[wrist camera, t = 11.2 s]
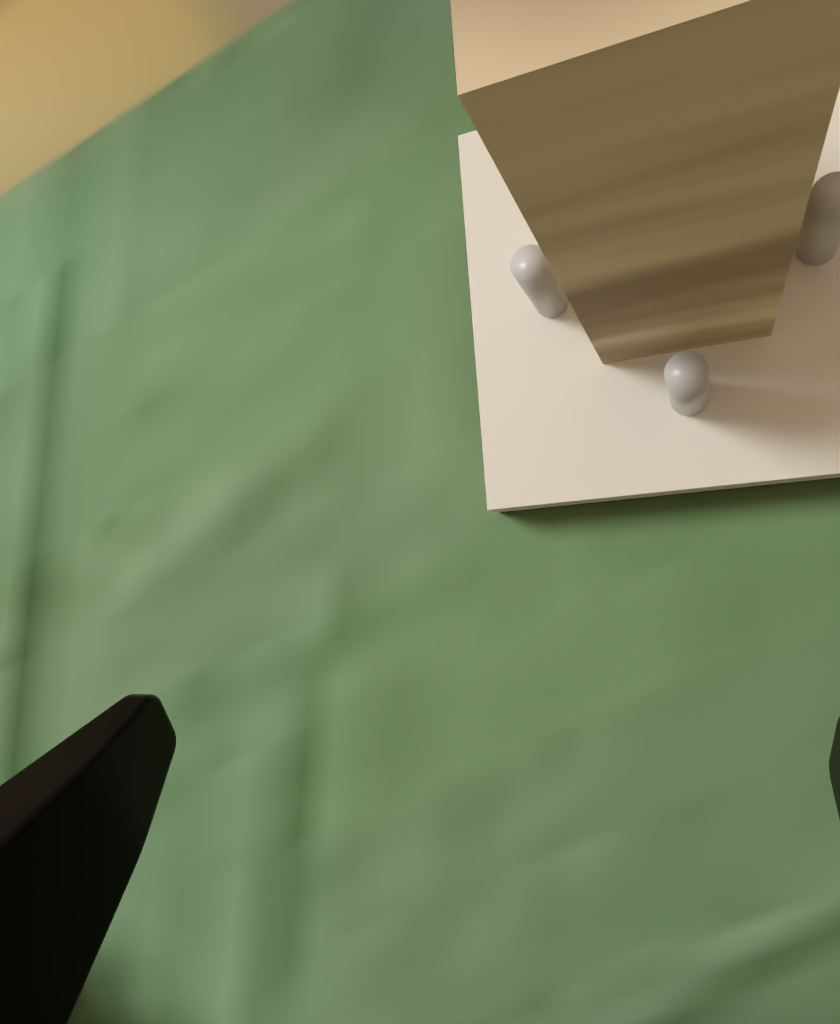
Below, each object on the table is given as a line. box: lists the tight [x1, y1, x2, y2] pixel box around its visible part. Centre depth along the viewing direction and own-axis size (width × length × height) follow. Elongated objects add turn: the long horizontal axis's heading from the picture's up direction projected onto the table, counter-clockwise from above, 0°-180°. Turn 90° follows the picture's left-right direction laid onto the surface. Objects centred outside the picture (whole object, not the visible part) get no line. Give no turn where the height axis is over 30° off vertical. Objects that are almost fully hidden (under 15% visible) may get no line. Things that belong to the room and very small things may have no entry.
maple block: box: [451, 0, 840, 364], centre depth 14 cm, size 4×4×13 cm
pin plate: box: [458, 88, 840, 512], centre depth 19 cm, size 12×12×4 cm
